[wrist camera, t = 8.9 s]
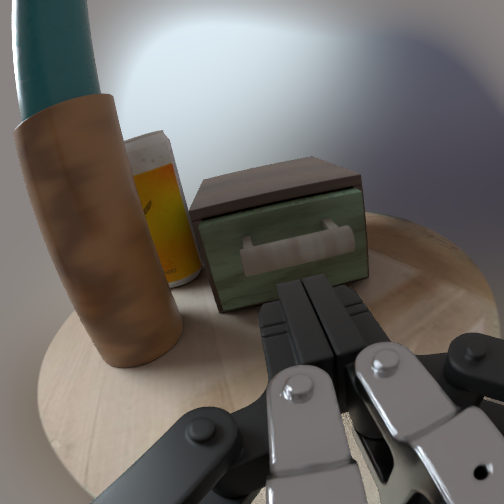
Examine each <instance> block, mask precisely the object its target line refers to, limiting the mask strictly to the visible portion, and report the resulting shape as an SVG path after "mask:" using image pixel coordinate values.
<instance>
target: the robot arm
mask: <svg viewBox="0 0 504 504" xmlns="http://www.w3.org/2000/svg"><path fill="white" fill-rule="evenodd" d="M276 288H277V293H278V298H279V300H278V301H274V302H270V303H265V304H263V305H262V307H261V309H260V312H259V314H258V319H259V325H260V331H261V337H262V343H263V349H264V354H265V360H266V366H267V372H268V385H267V388H266V390H265V391H264V393H263V394H262V395H261V397H260V398H259V399H257V400H256V401H255V402H254V403H252V404H250V405H249V406H247V407H245V408H242V409H240V410H238V411H236V412H233V413H231V414H230V413H229V412H227V411H225V410H224V409H221V408H217V407H201V408H197V409H194V410H191V411H189V412H187V413H186V414H184V415H183V416H182V417H181V418H180V419H179V420H178V421H177V422H176V423H175V424H174V425H173V426H172V427H171V428H170V429H169V430H168V431H167V432H166V433H165V434H164V435H163V436H162V437H161V438H160V439H159V440H158V441H157V442H156V443H155V444H154V445H153V446H152V447H151V448H149V449H148V450H147V451H146V452H145V453H144V454H143V455H142V456H141V457H140V458H139V459H138V460H137V461H136V462H135V463H134V464H133V465H132V466H131V467H130V468H129V469H128V470H126V471H125V472H124V473H123V474H122V475H121V476H120V477H119V478H118V479H117V480H116V481H115V482H113V483H112V484H111V485H110V486H109V487H108V488H107V489H106V490H105V491H103V492H102V493H101V494H100V495H99V496H98V497H97V498H96V499H94V500H93V501H92V502H91V503H90V504H251V502H252V501H253V500H254V499H255V497H256V496H257V495H258V493H259V492H260V490H261V488H263V487H265V486H266V504H368V502H367V498H366V493H365V489H364V485H363V481H362V477H361V473H360V470H359V467H358V464H357V462H356V460H355V459H353V458H352V456H351V453H350V449H349V445H348V441H347V437H346V433H345V429H344V425H343V421H342V417H341V414H342V413H345V412H349V414H350V417H351V419H352V422H353V423H352V434H353V437H354V439H355V441H356V443H357V445H358V447H359V449H360V451H361V454H362V456H363V458H364V460H365V462H366V464H367V466H368V468H369V470H370V473H371V475H372V477H373V479H374V481H375V483H376V485H377V488H378V491H379V495H380V503H381V504H504V405H501V404H497V403H494V402H491V401H487V400H484V399H483V398H484V396H486V397H489V398H492V399H495V400H499V401H502V402H504V340H502V339H499V338H495V337H491V336H488V335H484V334H480V333H465V334H462V335H460V336H458V337H456V338H455V339H454V340H453V341H452V342H451V344H450V346H449V350H448V352H447V353H439V354H431V355H414V354H413V353H412V352H411V351H410V350H409V349H408V348H407V347H405V346H403V345H401V344H398V343H394V342H391V341H390V340H389V338H388V337H387V335H386V334H385V333H384V331H383V330H382V328H381V327H380V325H379V324H378V322H377V321H376V319H375V318H374V317H373V315H372V314H371V312H370V311H369V310H368V308H367V307H366V305H365V304H364V303H363V301H362V300H361V298H360V297H359V295H358V294H357V293H356V291H354V290H352V289H350V288H349V287H347V286H345V285H340V286H336V287H332V285H331V284H330V282H329V281H328V279H327V277H326V276H325V274H324V273H323V274H318V275H314V276H310V277H306V278H302V279H301V280H299V279H298V280H293V281H289V282H285V283H280V284H276Z"/></svg>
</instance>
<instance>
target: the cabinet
mask: <svg viewBox="0 0 504 504" xmlns="http://www.w3.org/2000/svg"><path fill="white" fill-rule="evenodd" d="M352 188H356V189H358V190H360V191H362V200H363V210H364V221H365V234H366V249H367V269H368V276H367V277H363V278H359V279H356V280H352V281H348V282H344V283H341V284H337V285H333V286H332V287H335V286H338V285H342V284H346V283H350V282H354V281H357V280H361V279H365V278H368V277H369V266H368V246H367V231H366V219H365V207H364V198H363V189H362V180H361V175H360V174H358V173H355V172H353V171H350V170H348V169H345V168H343V167H340V166H337V165H335V164H332V163H329V162H326V161H324V160H321V159H318V158H315V157H306V158H301V159H295V160H291V161H285V162H280V163H276V164H270V165H265V166H261V167H256V168H251V169H247V170H243V171H238V172H234V173H230V174H225V175H221V176H217V177H213V178H209V179H205V180H203V182H202V184H201V186H200V188H199V190H198V192H197V194H196V196H195V198H194V201H193V203H192V205H191V207H190V210H189V216H190V219H191V221H192V222H191V223H192V226H193V230H194V233H195V237H196V240H197V243H198V247H199V250H200V254H201V257H202V260H203V263H204V267H205V270H206V273H207V276H208V280H209V283H210V286H211V289H212V292H213V295H214V298H215V302H216V304H217V308H218V311H219V313H222V312H227V311H232V310H237V309H241V308H246V307H251V306H255V305H260V304H264V303H269V302H273V301H277V300H279V299H275V300H271V301H266V302H262V303H258V304H253V305H248V306H244V307H239V308H235V309H230V310H225V311H224V310H223V307H222V304H221V301H220V298H219V295H218V291H217V288H216V285H215V282H214V278H213V275H212V272H211V268H210V265H209V262H208V258H207V255H206V252H205V248H204V245H203V241H202V238H201V234H200V231H199V223H200V221H204V220H208V219H212V218H211V217H213V216H217V215H221V214H225V213H229V212H234V211H238V210H242V209H247V208H251V207H256V206H260V205H265V204H269V203H274V202H278V201H283V200H288V199H292V198H297V197H302V196H307V195H312V194H317V193H322V192H327V191H332V190H337V189H341V190H346V189H352Z"/></svg>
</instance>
